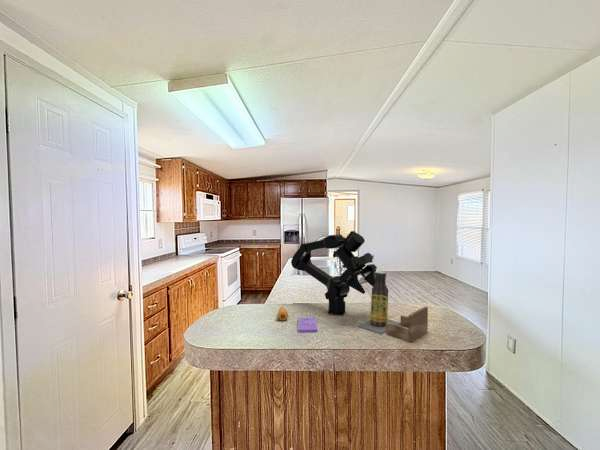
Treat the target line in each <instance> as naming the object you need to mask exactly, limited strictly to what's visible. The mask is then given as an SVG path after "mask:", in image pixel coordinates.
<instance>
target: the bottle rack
mask: <svg viewBox="0 0 600 450" xmlns="http://www.w3.org/2000/svg"><path fill="white" fill-rule="evenodd" d="M428 312H429V307H428V306H422V307H421V308H420V309H418V310H415V311H413V312H412V313H410V314H408V316H407V315H404V314H403V315H402V314H401V315H400V323H401V324H400V325H396V324H392V323H389V322H387V323H386V332H385V334H386V335H388V336H391V337H395V338H398V339H401V340H403V341H407V342H408V343H413V342H415V341H416V340H418V339H419V338H420V337H422V336H424V335H425V334H427V333H428V327H429V326H428V323H429V322H428V321H429V319H428V318H429V317H428V315H429V313H428Z"/></svg>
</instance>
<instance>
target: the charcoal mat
mask: <svg viewBox="0 0 600 450" xmlns="http://www.w3.org/2000/svg"><path fill="white" fill-rule="evenodd" d="M387 322H389V323H392V324H396V325H399V326H401V321H400V322H399V321H395V320H391V319H388V318H387ZM357 328H361V329H364V330H367V331H370V332H372V333H373V332H374V333H377V334H379V335H383V334H386V325H385V326H375V325H373V324H371V319H370V320H368V321H365V322H363V323H360V324H358V325H357Z"/></svg>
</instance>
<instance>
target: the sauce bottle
mask: <svg viewBox="0 0 600 450" xmlns="http://www.w3.org/2000/svg"><path fill="white" fill-rule="evenodd" d="M386 278H387V272H385V271H381V270H379V271H377V270H376V272H375V284H374V286H372V288H371V296H370V297H371V299H370V320H371V324H373V325H375V326H385V325H386V323H387V319H388V311H389V288H388V286H387V285H386V283H387V282H386Z"/></svg>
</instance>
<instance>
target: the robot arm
mask: <svg viewBox="0 0 600 450" xmlns="http://www.w3.org/2000/svg"><path fill="white" fill-rule="evenodd" d="M365 241H366V240H365V238H364V236H362V235H361V234H359V233H357V232H356V231H355V230H351V231H350V232H349V233H348V235H347V236H346V237H344V236H343V235H342V234H330V235H327V236H326V237H325V236H324V238H322V239H319V240H316V241H312V242H305V243H302V244H300V246H299V248H298V249H297V251H296V252H295V253H294V254H293V256H292V258H291V261H290V263H291V266H292V268H293V269H295V270H298V271H302V272H305V273H307V274H308V275H310V276H311V277H312V278H314V279H315V280H316V281H318V282H319V283H321V284H322V285H324V286H325V287H326V290H327V291H325V293H324V297H325V299H326V300H328V312H327V314H328V315H340V316H344V313H346V300H345V298H347V297H348V295H349V293H350V291H351V290H350V289H351V288H352V289H354V290H355V291H358V292H359V293H360V294H363V295H364V294H366V290H365V288H364V287H363V286H362V283H361V282H360V281H359V276H361V277H363V280H365V282H366V283H368V284H369V285H370V286H372V287H373V286H374V284H375V272H377V268H378V267H377V266H376V265H375V264H373V259H374V256H373V255H372V254H371V253H370V252H366V253H365V254H363V255H362V256H361V255H360V256H357V255H356V256H355V255H354V253H356V252H357V251H358V250H359V249H360V248H361V247H362V245H364V243H365ZM322 249H333V250H334V249H336V250H334V251H333V254H332V258H338V259H339V260H340V262H341V264H342V268H343V269H345V270H344V271H343V272H342V273H341V274H340V275H337V276H332V275H330V274H328V273H327V272H325V271H324V270H322V269H321V268H320V267H318V266H317V265H315V264H314V263H312V260H311V258H312V251H316V250H322ZM369 263H370V264H369Z"/></svg>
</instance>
